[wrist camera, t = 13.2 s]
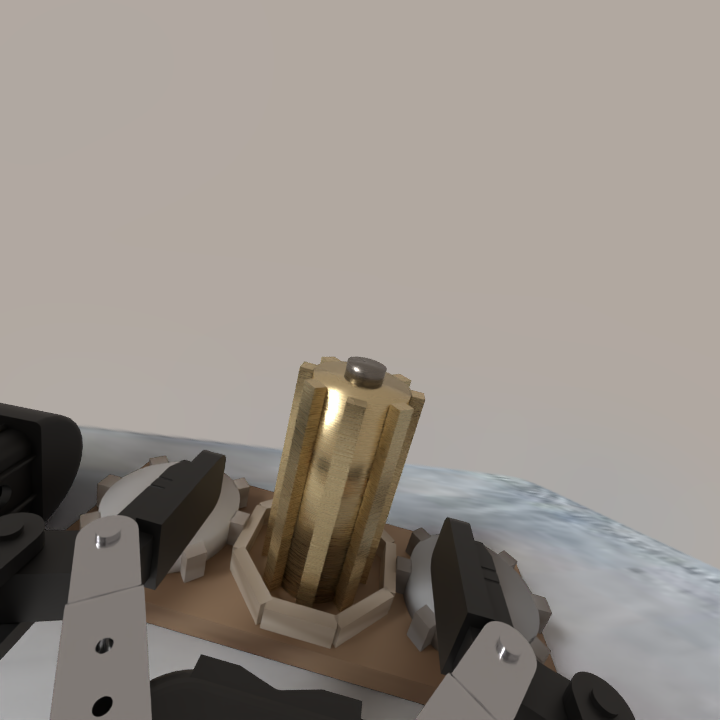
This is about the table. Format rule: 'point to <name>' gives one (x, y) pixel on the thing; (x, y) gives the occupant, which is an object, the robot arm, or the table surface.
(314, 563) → the pinion
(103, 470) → the table surface
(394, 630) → the gear board
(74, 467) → the end cap
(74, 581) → the robot arm
